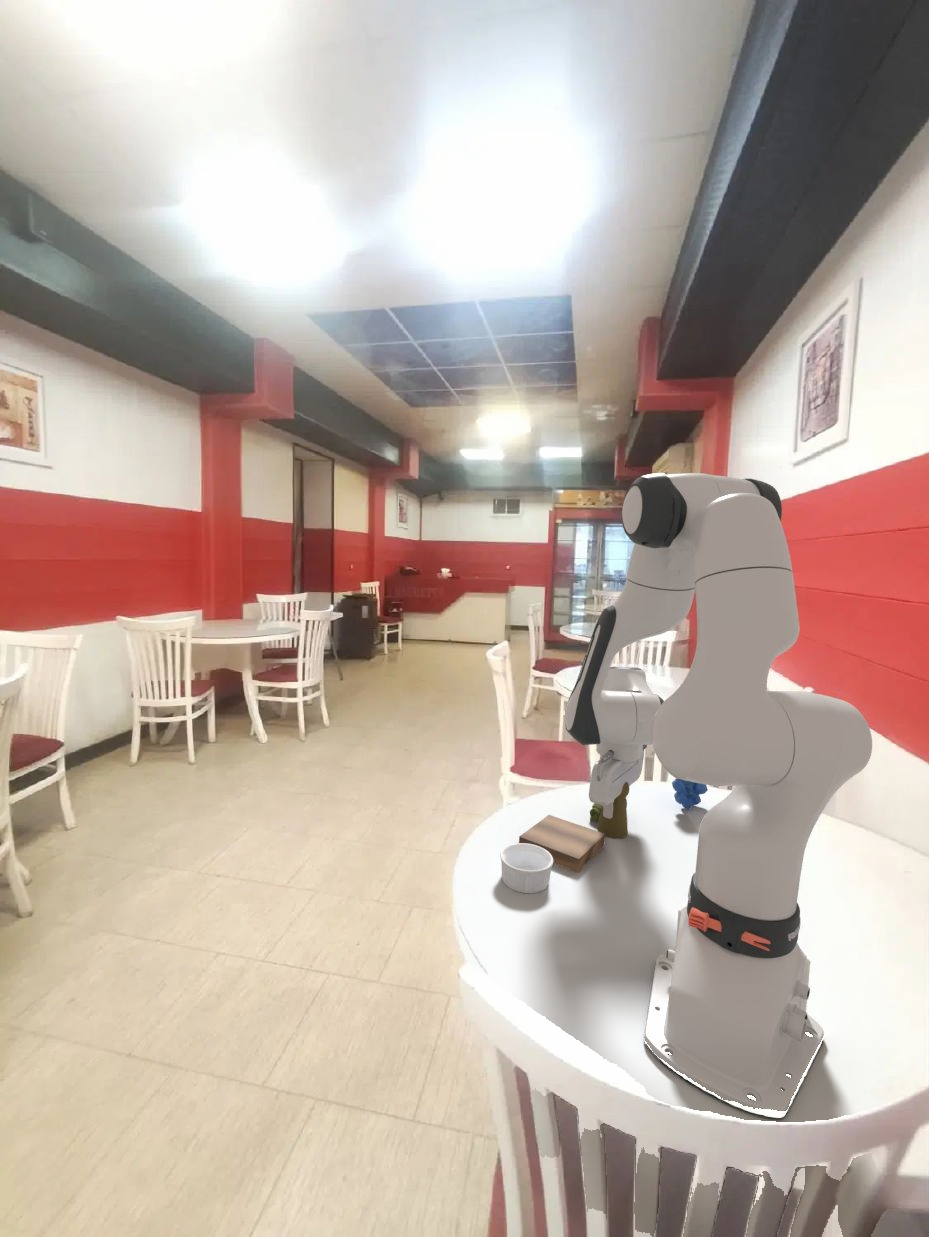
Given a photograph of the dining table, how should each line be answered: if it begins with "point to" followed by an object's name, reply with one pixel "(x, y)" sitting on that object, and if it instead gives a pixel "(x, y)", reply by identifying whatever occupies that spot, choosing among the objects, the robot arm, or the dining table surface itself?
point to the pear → (597, 811)
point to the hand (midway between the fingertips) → (614, 811)
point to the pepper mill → (616, 817)
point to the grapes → (688, 792)
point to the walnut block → (565, 841)
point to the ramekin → (526, 867)
